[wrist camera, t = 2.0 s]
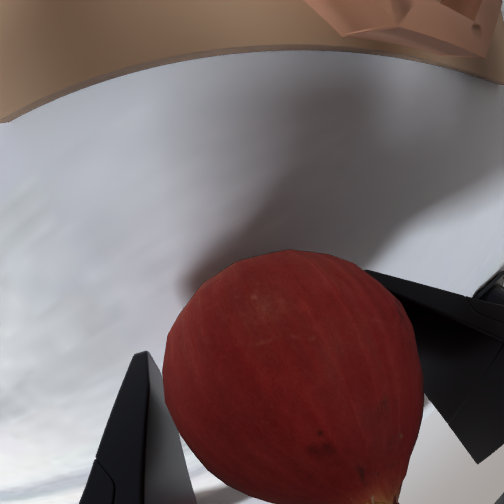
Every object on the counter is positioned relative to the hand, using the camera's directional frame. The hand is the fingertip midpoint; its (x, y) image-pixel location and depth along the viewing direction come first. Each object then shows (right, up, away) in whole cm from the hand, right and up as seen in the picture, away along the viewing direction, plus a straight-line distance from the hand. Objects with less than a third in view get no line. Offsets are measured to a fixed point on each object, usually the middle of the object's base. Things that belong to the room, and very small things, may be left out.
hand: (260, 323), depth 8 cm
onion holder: (+3, +14, -4) cm, 14 cm away
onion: (-1, +1, +2) cm, 2 cm away
